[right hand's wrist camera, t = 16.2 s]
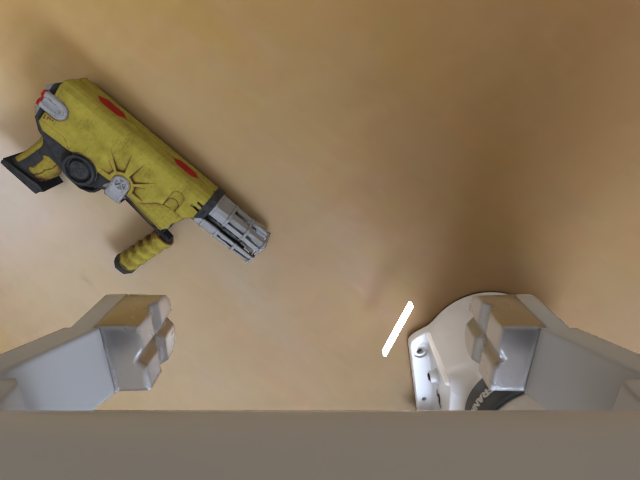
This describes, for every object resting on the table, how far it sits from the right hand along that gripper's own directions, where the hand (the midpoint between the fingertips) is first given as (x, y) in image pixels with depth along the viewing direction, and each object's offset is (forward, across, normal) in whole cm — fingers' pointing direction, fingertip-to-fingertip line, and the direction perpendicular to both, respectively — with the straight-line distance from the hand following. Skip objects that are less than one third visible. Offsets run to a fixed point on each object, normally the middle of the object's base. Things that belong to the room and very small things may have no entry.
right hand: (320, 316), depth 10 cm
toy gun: (+31, -19, -6) cm, 37 cm away
